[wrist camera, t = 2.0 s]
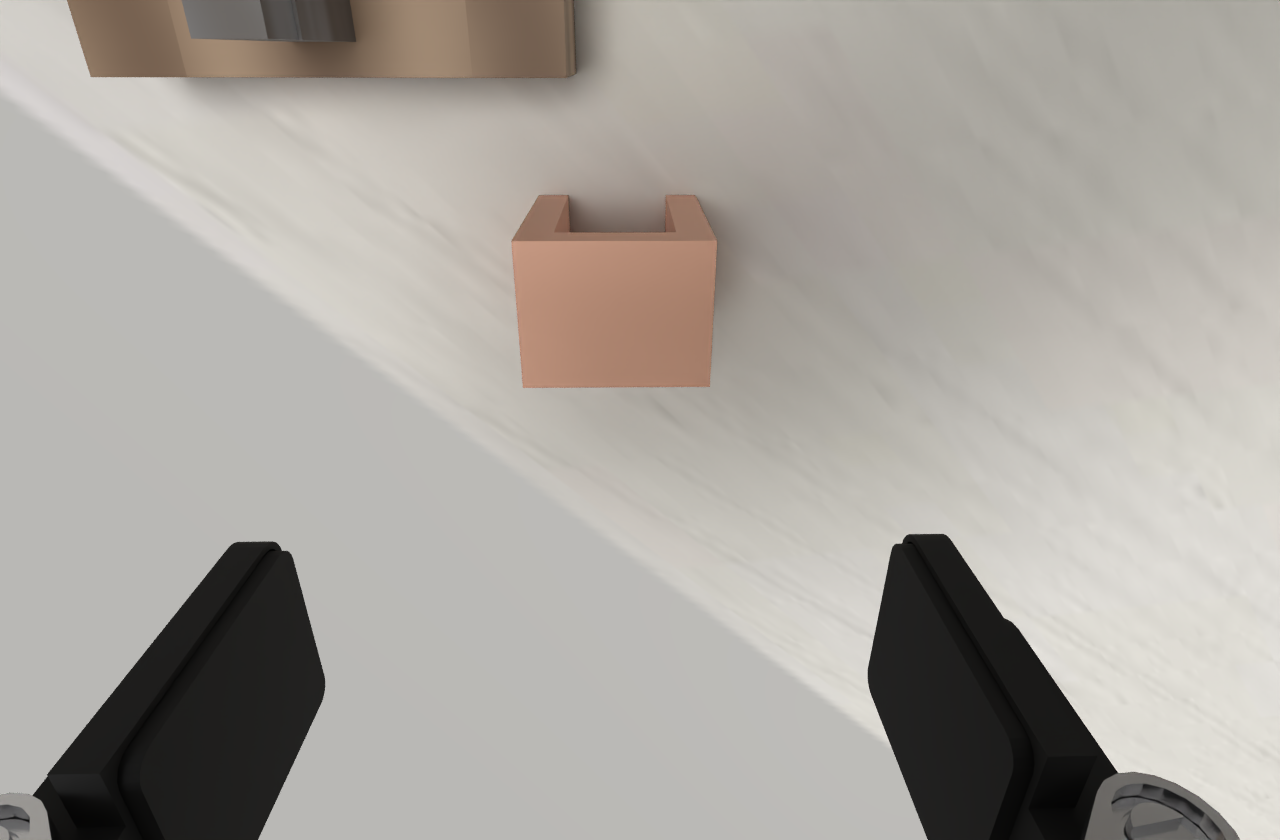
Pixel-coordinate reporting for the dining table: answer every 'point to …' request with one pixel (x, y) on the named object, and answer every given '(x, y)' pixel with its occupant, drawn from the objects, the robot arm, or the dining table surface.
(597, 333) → the pink u-channel block
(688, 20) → the dining table surface
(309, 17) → the wooden rectangular frame
